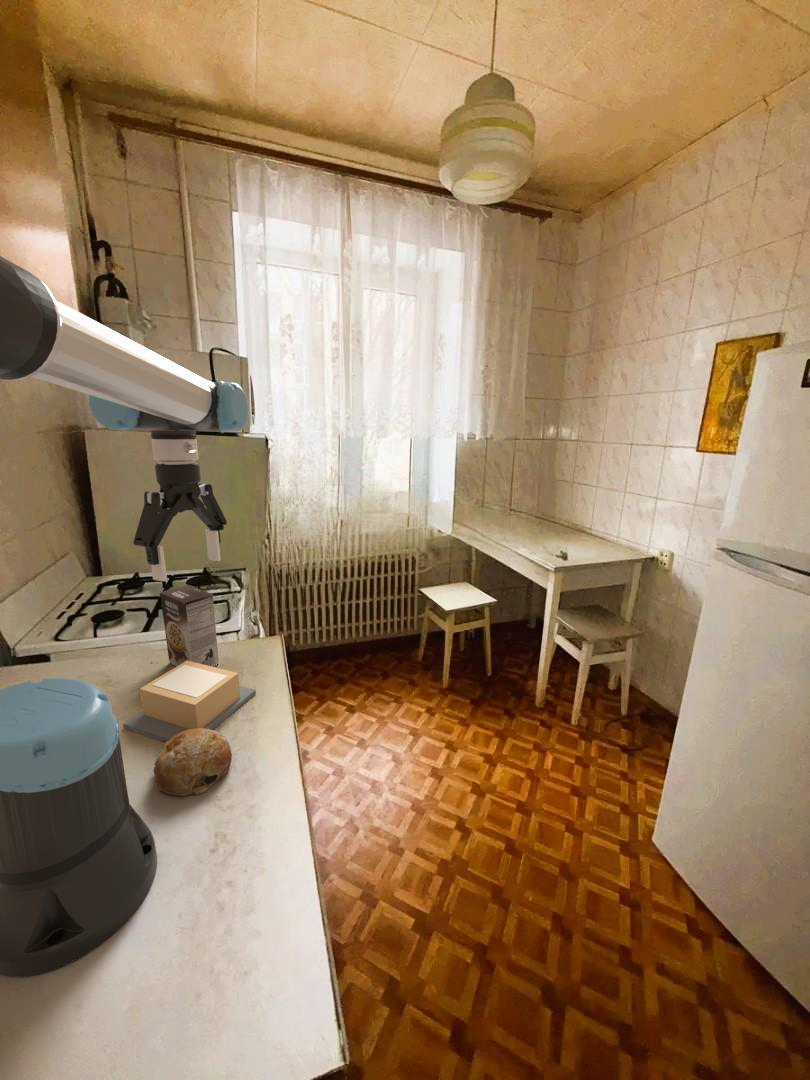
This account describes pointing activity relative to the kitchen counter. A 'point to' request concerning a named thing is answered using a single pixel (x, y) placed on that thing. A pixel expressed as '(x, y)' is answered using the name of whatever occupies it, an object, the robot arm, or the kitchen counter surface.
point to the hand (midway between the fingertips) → (189, 569)
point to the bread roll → (192, 762)
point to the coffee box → (189, 626)
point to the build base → (188, 700)
